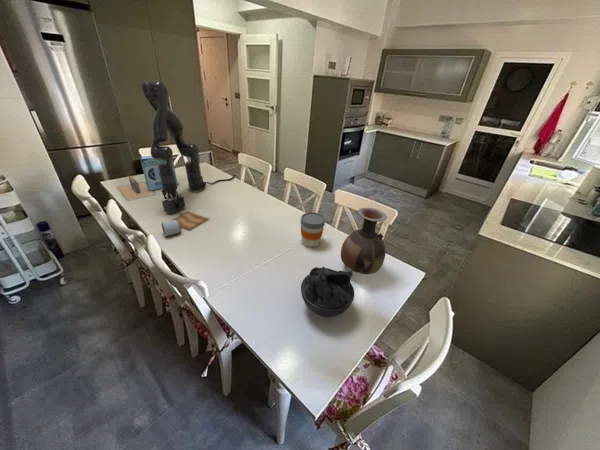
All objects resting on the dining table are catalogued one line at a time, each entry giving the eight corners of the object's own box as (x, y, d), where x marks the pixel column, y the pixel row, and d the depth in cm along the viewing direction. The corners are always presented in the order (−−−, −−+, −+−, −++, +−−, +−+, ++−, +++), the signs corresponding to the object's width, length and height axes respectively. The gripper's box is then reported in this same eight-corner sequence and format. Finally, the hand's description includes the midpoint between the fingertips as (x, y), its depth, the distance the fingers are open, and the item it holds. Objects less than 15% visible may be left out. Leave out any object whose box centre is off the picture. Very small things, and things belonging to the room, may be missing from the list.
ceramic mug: (182, 234, 135) (180, 221, 131) (166, 239, 131) (163, 226, 127) (177, 225, 142) (174, 213, 138) (161, 230, 138) (157, 217, 134)
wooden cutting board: (188, 212, 155) (188, 211, 155) (208, 219, 149) (208, 218, 149) (169, 222, 144) (168, 221, 144) (189, 230, 139) (189, 229, 138)
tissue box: (179, 203, 160) (176, 193, 156) (185, 206, 158) (183, 195, 154) (164, 211, 152) (161, 200, 148) (170, 213, 150) (168, 202, 146)
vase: (370, 292, 107) (387, 234, 91) (330, 274, 115) (339, 217, 100) (385, 264, 124) (402, 210, 108) (349, 249, 132) (359, 198, 116)
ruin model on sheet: (118, 187, 179) (113, 174, 173) (143, 182, 189) (140, 169, 183) (128, 200, 164) (123, 186, 159) (155, 193, 174) (151, 180, 169)
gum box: (175, 183, 191) (169, 152, 179) (178, 185, 188) (172, 154, 176) (147, 188, 179) (139, 156, 167) (149, 191, 176) (141, 158, 164)
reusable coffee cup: (310, 232, 144) (312, 209, 136) (326, 242, 136) (330, 219, 128) (294, 241, 136) (295, 217, 128) (311, 252, 128) (313, 227, 121)
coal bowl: (289, 312, 96) (291, 275, 86) (314, 281, 111) (318, 247, 101) (337, 338, 88) (345, 301, 78) (357, 301, 102) (366, 266, 93)
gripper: (182, 181, 146) (188, 207, 155) (165, 176, 151) (171, 201, 160) (172, 186, 140) (178, 212, 149) (154, 180, 145) (161, 206, 154)
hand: (174, 206), depth 154 cm, fingers closed on tissue box, 5 cm apart
